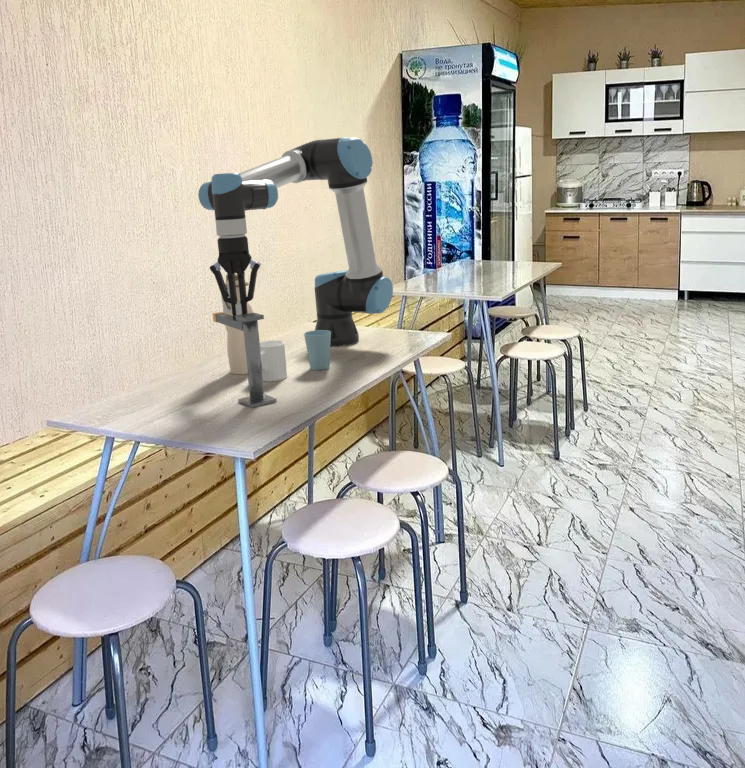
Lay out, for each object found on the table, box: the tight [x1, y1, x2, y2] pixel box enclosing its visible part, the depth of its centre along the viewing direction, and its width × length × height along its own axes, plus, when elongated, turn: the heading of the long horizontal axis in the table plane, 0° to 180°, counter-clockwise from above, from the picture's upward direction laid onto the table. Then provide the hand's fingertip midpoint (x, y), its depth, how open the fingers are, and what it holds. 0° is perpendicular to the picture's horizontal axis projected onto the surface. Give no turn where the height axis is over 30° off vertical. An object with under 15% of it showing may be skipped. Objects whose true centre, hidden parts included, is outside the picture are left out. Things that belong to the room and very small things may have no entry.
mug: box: [259, 340, 288, 383], centre depth 216 cm, size 8×12×10 cm
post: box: [236, 312, 277, 409], centre depth 194 cm, size 7×7×22 cm
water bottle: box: [220, 273, 255, 375], centre depth 224 cm, size 10×9×28 cm
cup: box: [303, 329, 331, 371], centre depth 226 cm, size 8×8×10 cm
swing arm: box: [212, 311, 244, 331], centre depth 201 cm, size 19×3×2 cm, turn 33°
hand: (241, 328), depth 204 cm, fingers closed
